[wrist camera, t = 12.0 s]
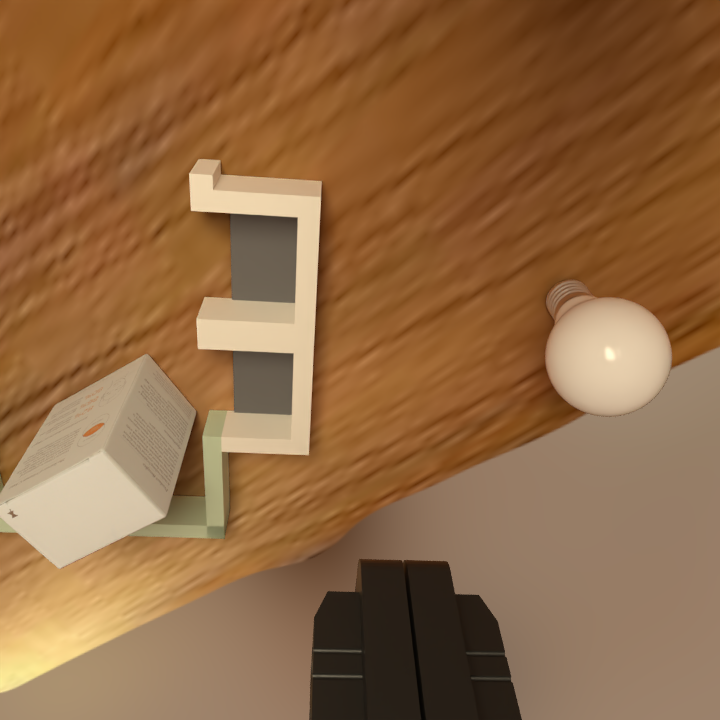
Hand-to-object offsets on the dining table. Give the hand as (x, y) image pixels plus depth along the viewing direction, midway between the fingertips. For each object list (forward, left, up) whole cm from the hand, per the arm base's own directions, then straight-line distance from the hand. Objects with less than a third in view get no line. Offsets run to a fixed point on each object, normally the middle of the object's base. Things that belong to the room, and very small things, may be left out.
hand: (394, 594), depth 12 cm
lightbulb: (+8, +14, -31) cm, 35 cm away
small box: (+18, -14, -31) cm, 39 cm away
